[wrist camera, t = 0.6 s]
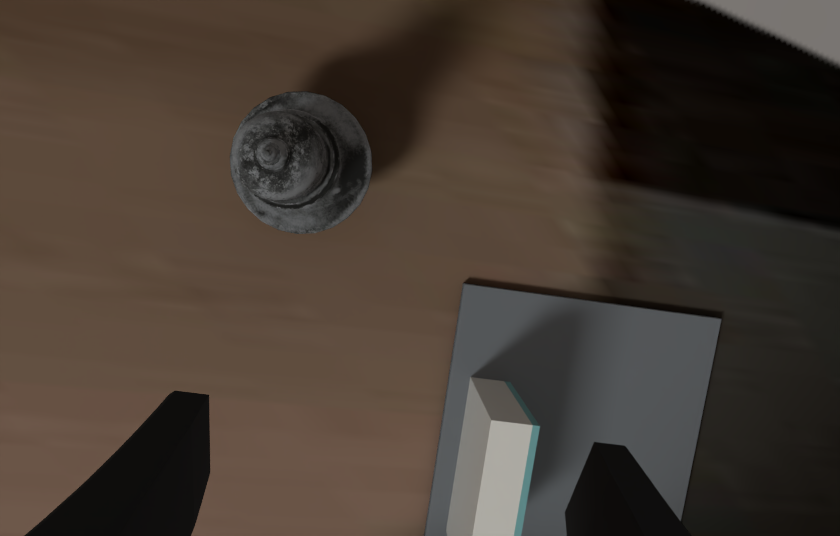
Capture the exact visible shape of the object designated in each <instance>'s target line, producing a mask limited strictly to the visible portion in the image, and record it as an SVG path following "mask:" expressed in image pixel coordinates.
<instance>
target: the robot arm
mask: <svg viewBox="0 0 840 536" xmlns="http://www.w3.org/2000/svg"><path fill="white" fill-rule="evenodd" d="M209 474H210V431H209V395H206V394H198V393H189V392H181V391H174V392H172V393H171V394H169V395H168V396H167V397H166V398H165V400H164V401H163V402H162V403H161V404H160V405H159V406H158V408H157V409H156V410H155V411H154V412H153V413H152V414H151V415H150V416H149V418H148V419H147V420H146V421H145V422H144V423H143V424H142V425H141V426H140V427H139V428H138V429H137V430H136V432H135V433H134V434H133V435H132V436H131V437H130V438H129V439H128V440H127V441H126V442H125V443H124V444H123V445H122V446H121V447H120V448H119V449H118V450H117V451H116V452H115V453H114V454H113V455H112V456H111V457H110V458H109V459H108V460H107V461H106V462H105V463H104V464H103V465H102V466H101V467H100V468H99V469H98V470H97V471H96V472H95V473H94V474H93V475H92V476H91V477H90V478H89V479H88V480H87V481H86V482H85V483H83V484H82V485H81V486H80V487H79V488H78V489H77V490H76V491H75V492H74V493H72V494H71V495H70V496H69V497H68V498H67V499H66V500H65V501H64V502H62V503H61V504H60V505H59V506H58V507H57V508H56V509H55V510H54V511H52V512H51V513H50V514H49V515H48V516H47V517H46V518H45V519H43V520H42V521H41V522H40V523H39V524H38V525H36V526H35V527H34V528H33V529H32V530H31V531H29V532H28V533H27V534H26V535H25V536H191V534H192V531H193V529H194V526H195V523H196V520H197V516H198V513H199V510H200V506H201V503H202V499H203V496H204V492H205V489H206V485H207V482H208V478H209ZM565 521H566V532H567V536H691V534H690V533H689V532H688V530H687V529H686V528H685V527H684V525H683V524H682V523H681V521H680V520H679V519H678V517H677V516H676V515H675V513H674V512H673V511H672V509H671V508H670V506H669V505H668V504H667V502H666V501H665V500H664V498H663V497H662V496H661V494H660V493H659V491H658V490H657V489H656V487H655V486H654V484H653V483H652V482H651V480H650V479H649V478H648V476H647V475H646V473H645V472H644V471H643V469H642V468H641V466H640V465H639V464H638V462H637V461H636V460H635V458H634V457H633V455H632V454H631V453H630V451H629V450H628V449H627V447H626V446H624V445H616V444H608V443H599V442H594V443H593V446H592V448H591V451H590V453H589V455H588V458H587V460H586V463H585V465H584V467H583V470H582V472H581V474H580V477H579V479H578V482H577V484H576V486H575V489H574V491H573V494H572V496H571V498H570V501H569V503H568V506H567V508H566V510H565Z"/></svg>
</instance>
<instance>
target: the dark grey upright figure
mask: <svg viewBox="0 0 840 536" xmlns="http://www.w3.org/2000/svg"><path fill="white" fill-rule="evenodd" d="M230 165H231V176H232V179H233V182H234V185H235V188H236V191H237V193H238V195H239V196H240V198H241V199H242V201H243V202H244V204H245V205H246V207H247V208H248V209H249V210H250V211H251V212H252V213H253V214H254V215H255V216H256V217H258V218H259V219H260V220H261V221H262V222H264V223H266V224H268V225H270V226H272V227H274V228H276V229H278V230H282V231H286V232H291V233H295V234H304V233H317V232H320V231H323V230H326V229H329V228H332V227H334V226H336V225H337V224H339V223H340V222H342V221H343V220H345V219H347V218H348V217H349V216H350V215H351V214H352V213H353V211H354V210H355V209H356V208H357V207H358V206H359V205H360V203H361V201H362V199H363V198H364V196H365V194H366V192H367V190H368V187H369V183H370V178H371V173H372V156H371V149H370V146H369V143H368V140H367V136H366V134H365V132H364V130H363V129H362V127H361V126H360V124H359V122H358V121H357V119H356V118H355V117H354V116H353V115H352V114H351V113H350V112H349V111H348V110H347V109H346V108H345V107H344V106H342V105H341V104H339V103H337V102H336V101H334V100H332V99H330V98H328V97H326V96H324V95H319V94H315V93H311V92H307V91H305V92H286V93H283V94H280V95H276V96H273V97H270V98H268V99H267V100H265V101H264V102H262V103H261V104H259V105H257V106H256V107H254V108H253V109H252V111H251V112H250V113H249V114H248V115H247V116H246V117H245V118H244V120H243V121H242V122H241V124H240V126H239V128H238V130H237V132H236V134H235V136H234V138H233V143H232V148H231V153H230Z"/></svg>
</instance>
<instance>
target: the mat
mask: <svg viewBox="0 0 840 536" xmlns="http://www.w3.org/2000/svg"><path fill="white" fill-rule="evenodd" d="M720 324H721V319H719V318H716V317H709V316H701V315H694V314H687V313H679V312H672V311H665V310H657V309H650V308H643V307H635V306H628V305H621V304H613V303H606V302H599V301H591V300H584V299H577V298H569V297H562V296H555V295H547V294H540V293H533V292H525V291H518V290H511V289H503V288H496V287H489V286H481V285H474V284H467V283H463V288H462V294H461V300H460V307H459V313H458V320H457V326H456V333H455V339H454V346H453V352H452V359H451V365H450V372H449V378H448V384H447V391H446V397H445V404H444V410H443V417H442V423H441V430H440V436H439V443H438V449H437V456H436V462H435V469H434V475H433V481H432V488H431V494H430V501H429V507H428V514H427V520H426V527H425V533H424V536H447V532H446V528H447V521H448V515H449V509H450V502H451V496H452V490H453V483H454V477H455V471H456V464H457V458H458V452H459V446H460V439H461V433H462V427H463V420H464V414H465V408H466V401H467V395H468V389H469V382H470V377H474V378H482V379H490V380H498V381H506V382H511V384H512V385H513V387H514V388H515V390H516V391H517V393H518V394H519V396H520V397H521V399H522V400H523V402H524V403H525V405H526V406H527V408H528V409H529V411H530V412H531V414H532V415H533V416H534V418H535V419H536V421H537V422H538V424H539V425H540V429H539V435H538V441H537V446H536V452H535V458H534V464H533V470H532V475H531V481H530V487H529V493H528V499H527V504H526V510H525V516H524V522H523V528H522V533H521V536H567V532H566V521H565V510H566V508H567V506H568V503H569V501H570V498H571V496H572V494H573V491H574V489H575V486H576V484H577V482H578V479H579V477H580V474H581V472H582V470H583V467H584V465H585V463H586V460H587V458H588V455H589V453H590V451H591V448H592V446H593V443H594V442H599V443H608V444H616V445H624V446H626V447H627V449H628V450H629V451H630V453H631V454H632V455H633V457H634V458H635V460H636V461H637V462H638V464H639V465H640V466H641V468H642V469H643V471H644V472H645V473H646V475H647V476H648V478H649V479H650V480H651V482H652V483H653V484H654V486H655V487H656V489H657V490H658V491H659V493H660V494H661V496H662V497H663V498H664V500H665V501H666V502H667V504H668V505H669V506H670V508H671V509H672V511H673V512H674V513H675V515H676V516H677V517H678V519H679V520H680V521H681V518H682V513H683V508H684V503H685V498H686V493H687V488H688V483H689V478H690V473H691V468H692V463H693V458H694V453H695V448H696V443H697V438H698V433H699V428H700V423H701V418H702V413H703V408H704V403H705V398H706V393H707V388H708V383H709V378H710V373H711V368H712V364H713V359H714V354H715V349H716V344H717V339H718V334H719V329H720Z"/></svg>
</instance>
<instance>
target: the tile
mask: <svg viewBox="0 0 840 536" xmlns="http://www.w3.org/2000/svg"><path fill="white" fill-rule="evenodd" d="M539 429H540V425H539V424H538V422H537V421H536V419H535V418H534V416H533V415H532V414H531V412H530V411H529V409H528V408H527V406H526V405H525V403H524V402H523V400H522V399H521V397H520V396H519V394H518V393H517V391H516V390H515V388H514V387H513V385H512V384H511V382H506V381H498V380H490V379H482V378H474V377H470V382H469V389H468V395H467V401H466V408H465V414H464V420H463V427H462V433H461V439H460V446H459V452H458V458H457V464H456V471H455V477H454V483H453V490H452V496H451V502H450V509H449V515H448V521H447V528H446V532H447V536H521V533H522V528H523V522H524V516H525V510H526V504H527V499H528V493H529V487H530V481H531V475H532V470H533V464H534V458H535V452H536V446H537V441H538V435H539Z"/></svg>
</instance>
